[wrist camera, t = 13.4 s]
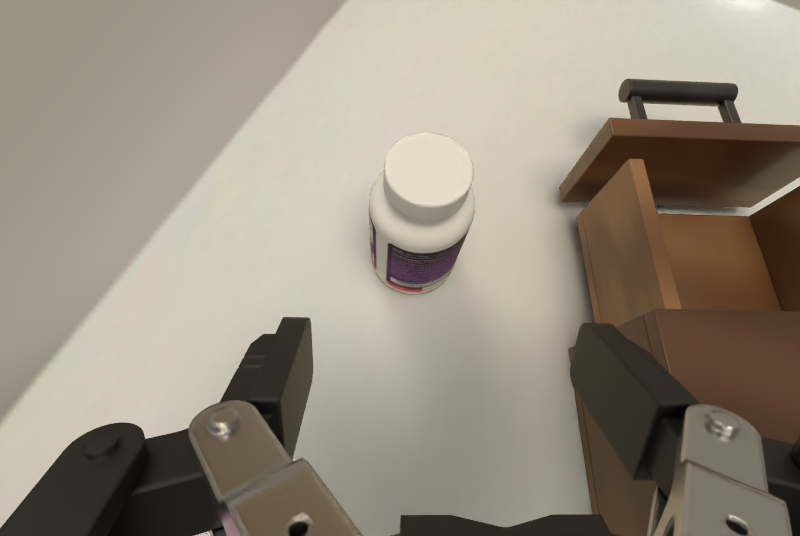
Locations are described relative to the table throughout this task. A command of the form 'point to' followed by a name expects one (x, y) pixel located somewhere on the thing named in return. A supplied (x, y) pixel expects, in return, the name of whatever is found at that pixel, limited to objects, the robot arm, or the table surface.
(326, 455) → the table surface
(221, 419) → the robot arm
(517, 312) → the table surface
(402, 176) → the pill bottle
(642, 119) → the drawer
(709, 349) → the cabinet
